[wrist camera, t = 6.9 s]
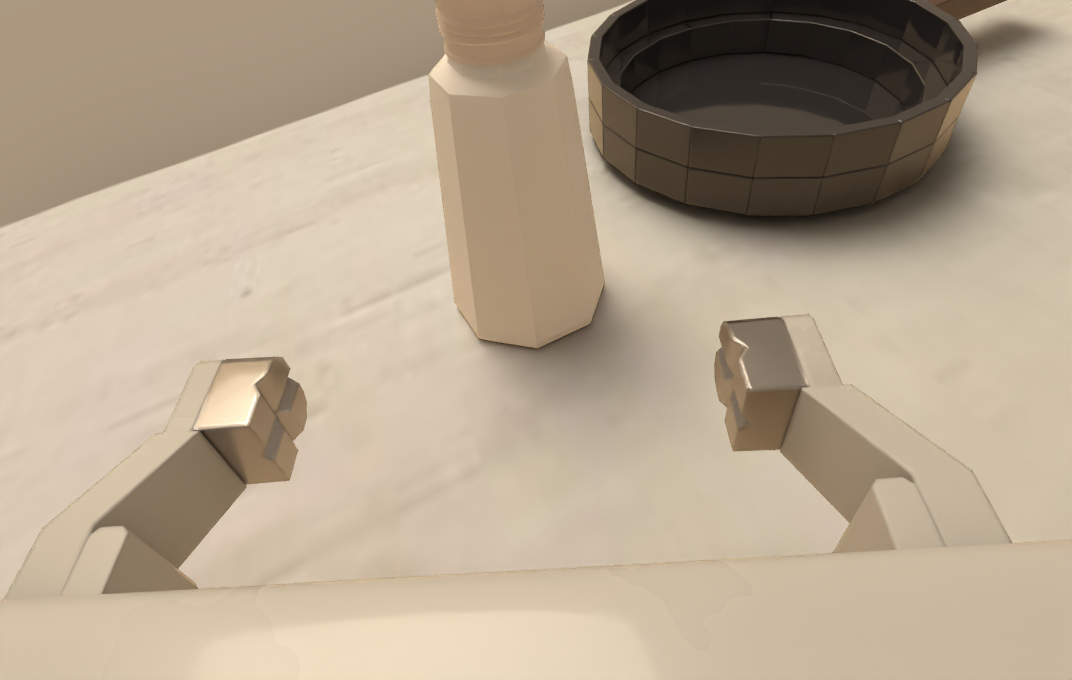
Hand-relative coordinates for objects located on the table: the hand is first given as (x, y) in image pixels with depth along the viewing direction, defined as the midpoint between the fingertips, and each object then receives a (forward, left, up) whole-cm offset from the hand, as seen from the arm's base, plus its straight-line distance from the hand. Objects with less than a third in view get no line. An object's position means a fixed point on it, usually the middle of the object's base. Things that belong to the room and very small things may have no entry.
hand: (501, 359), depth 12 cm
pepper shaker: (-4, -8, -7) cm, 11 cm away
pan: (-18, -12, -7) cm, 23 cm away
